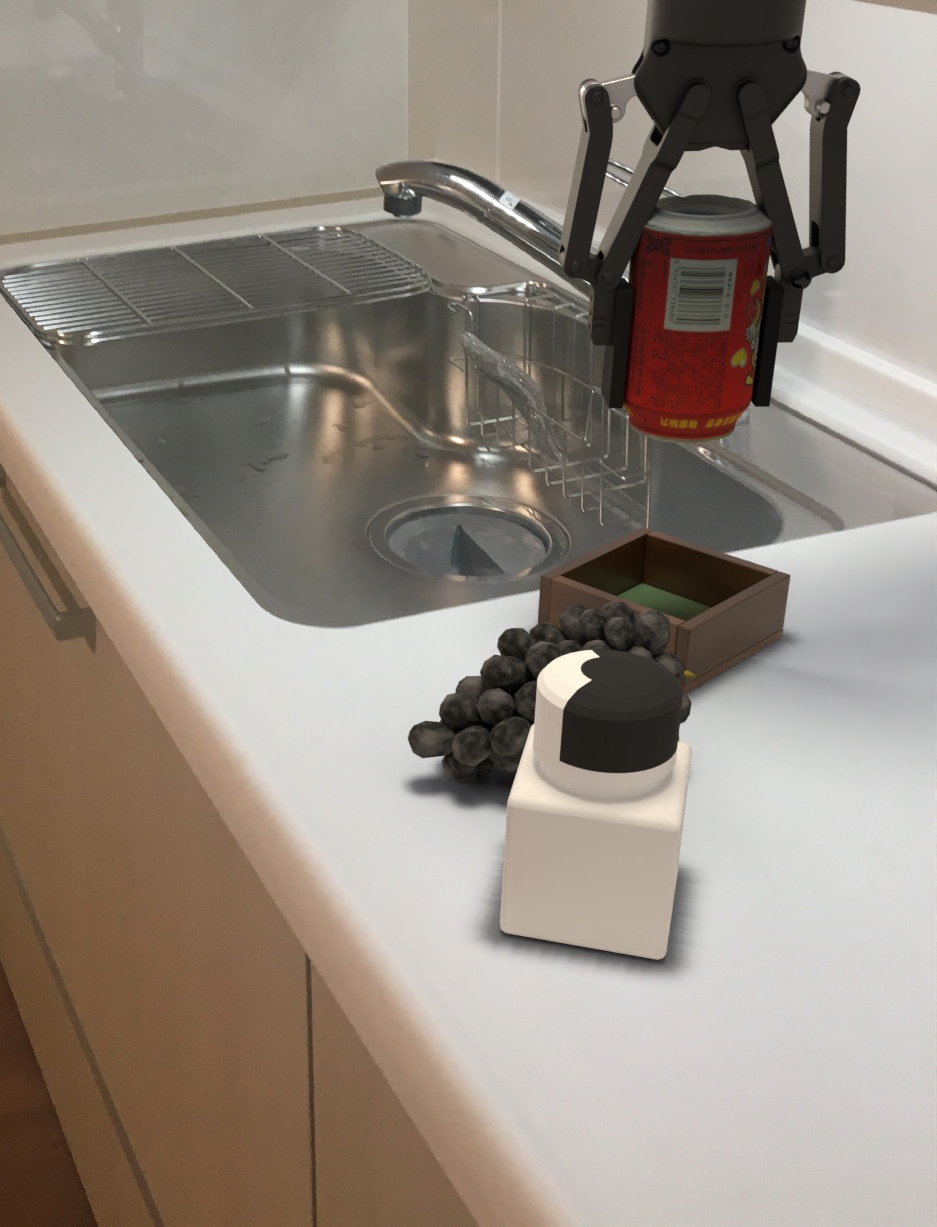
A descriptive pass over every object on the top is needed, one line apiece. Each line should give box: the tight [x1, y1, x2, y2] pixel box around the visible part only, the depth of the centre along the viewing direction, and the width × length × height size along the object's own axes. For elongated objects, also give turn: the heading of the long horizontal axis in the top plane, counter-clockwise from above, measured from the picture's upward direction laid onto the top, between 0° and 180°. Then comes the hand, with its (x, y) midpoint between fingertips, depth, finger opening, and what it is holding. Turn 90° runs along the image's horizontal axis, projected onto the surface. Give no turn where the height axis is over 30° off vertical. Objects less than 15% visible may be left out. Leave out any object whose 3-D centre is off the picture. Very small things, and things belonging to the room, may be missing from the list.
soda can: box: [623, 193, 772, 444], centre depth 90 cm, size 7×7×12 cm
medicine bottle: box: [499, 650, 693, 961], centre depth 74 cm, size 7×7×12 cm
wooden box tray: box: [537, 526, 791, 694], centre depth 98 cm, size 10×10×4 cm
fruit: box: [407, 601, 696, 784], centre depth 86 cm, size 9×8×15 cm
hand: (683, 398), depth 92 cm, fingers closed on soda can, 7 cm apart
